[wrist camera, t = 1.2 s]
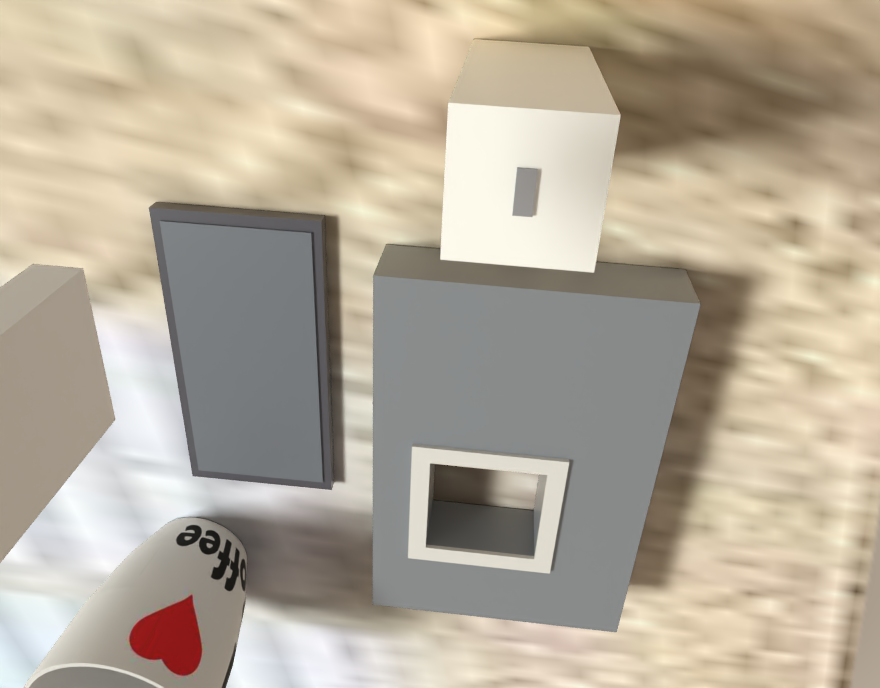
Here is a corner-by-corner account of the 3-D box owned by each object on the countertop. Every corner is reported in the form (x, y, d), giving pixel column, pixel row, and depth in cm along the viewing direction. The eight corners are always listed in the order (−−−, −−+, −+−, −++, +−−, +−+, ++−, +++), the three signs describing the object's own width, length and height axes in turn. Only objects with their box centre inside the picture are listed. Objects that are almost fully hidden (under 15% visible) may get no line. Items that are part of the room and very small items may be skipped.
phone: (161, 197, 31) (147, 208, 30) (327, 210, 30) (320, 222, 29) (201, 460, 38) (191, 477, 37) (336, 473, 37) (331, 491, 36)
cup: (300, 585, 41) (241, 764, 32) (182, 615, 43) (98, 789, 35) (222, 478, 38) (133, 647, 29) (98, 517, 40) (-19, 683, 31)
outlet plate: (386, 244, 30) (372, 278, 27) (685, 269, 29) (701, 306, 27) (382, 558, 39) (371, 607, 37) (610, 584, 39) (616, 635, 36)
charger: (473, 38, 26) (448, 103, 17) (588, 46, 26) (621, 116, 17) (466, 152, 28) (440, 261, 19) (572, 160, 28) (594, 274, 19)
